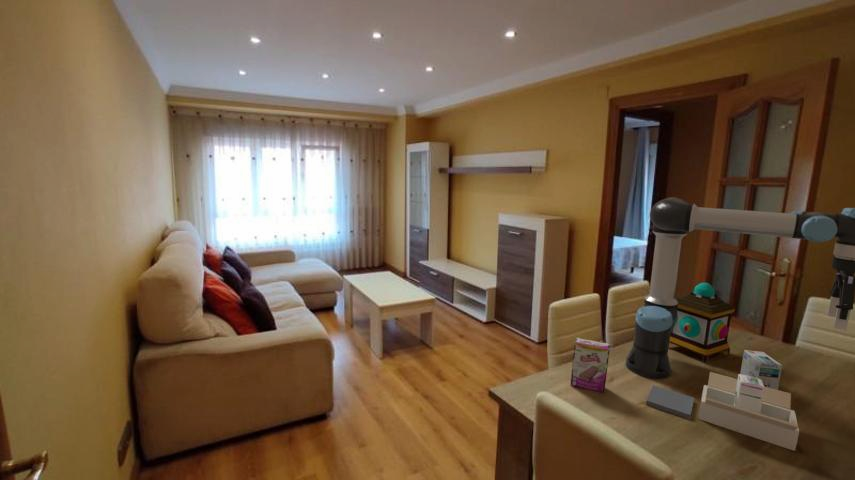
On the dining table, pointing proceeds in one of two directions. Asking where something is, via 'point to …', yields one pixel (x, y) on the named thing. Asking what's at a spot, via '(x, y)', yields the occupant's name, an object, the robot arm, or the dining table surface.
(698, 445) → the dining table surface
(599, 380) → the candy bar box
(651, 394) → the slate mat
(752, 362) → the light bulb box
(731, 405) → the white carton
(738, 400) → the syrup box
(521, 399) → the dining table surface
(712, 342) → the decorative lantern
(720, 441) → the dining table surface
